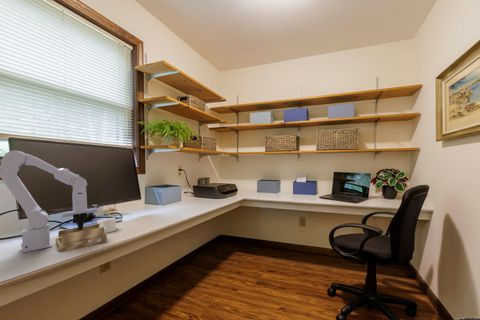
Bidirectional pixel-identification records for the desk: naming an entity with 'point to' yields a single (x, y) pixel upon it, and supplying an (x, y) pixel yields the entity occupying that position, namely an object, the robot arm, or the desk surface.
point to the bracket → (108, 224)
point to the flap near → (82, 235)
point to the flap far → (77, 229)
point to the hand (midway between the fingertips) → (80, 229)
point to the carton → (80, 242)
